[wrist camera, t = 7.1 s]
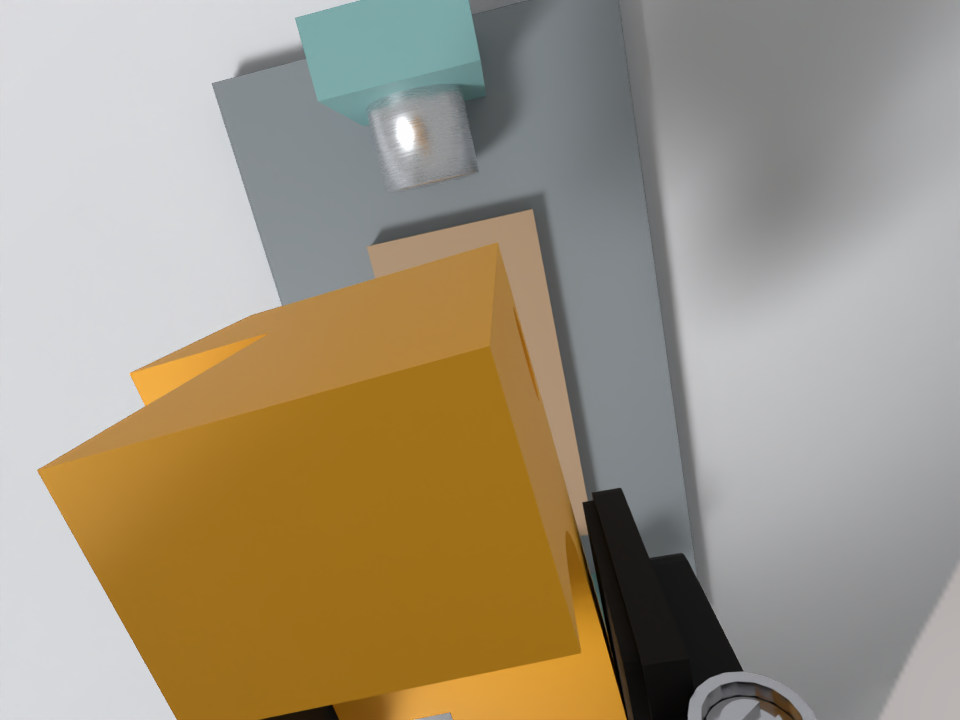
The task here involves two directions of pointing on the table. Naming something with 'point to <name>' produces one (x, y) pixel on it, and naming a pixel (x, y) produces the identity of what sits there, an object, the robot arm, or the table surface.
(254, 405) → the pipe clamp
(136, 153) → the table surface
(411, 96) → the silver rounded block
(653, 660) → the robot arm
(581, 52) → the stand
